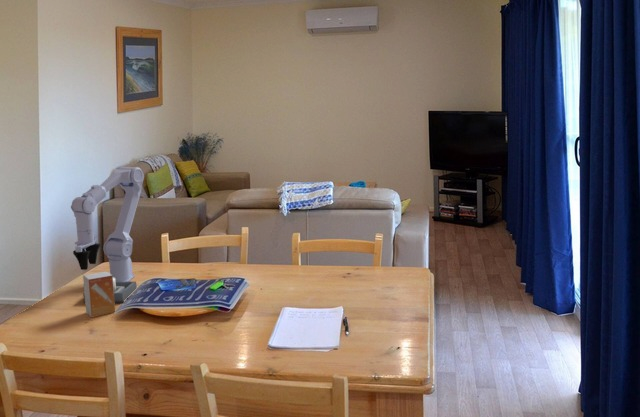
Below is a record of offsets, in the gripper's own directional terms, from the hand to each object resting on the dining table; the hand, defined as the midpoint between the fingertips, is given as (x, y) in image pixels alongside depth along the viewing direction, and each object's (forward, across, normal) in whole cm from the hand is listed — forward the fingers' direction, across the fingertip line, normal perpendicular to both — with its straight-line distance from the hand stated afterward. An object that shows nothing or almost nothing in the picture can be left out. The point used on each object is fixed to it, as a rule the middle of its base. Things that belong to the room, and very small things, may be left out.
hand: (88, 266), depth 262 cm
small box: (+10, +23, +13) cm, 28 cm away
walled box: (+9, +6, +10) cm, 15 cm away
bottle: (+9, +6, +10) cm, 15 cm away
